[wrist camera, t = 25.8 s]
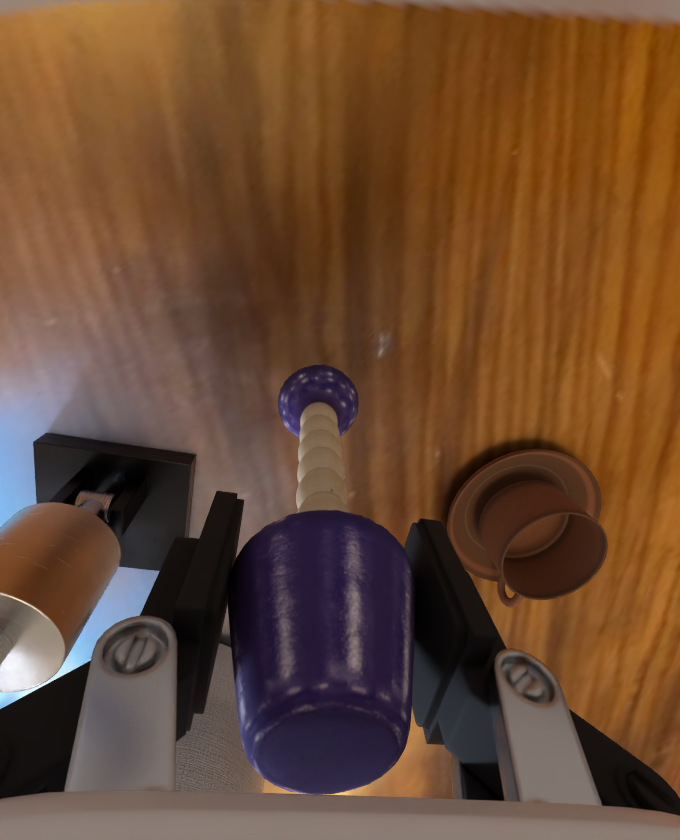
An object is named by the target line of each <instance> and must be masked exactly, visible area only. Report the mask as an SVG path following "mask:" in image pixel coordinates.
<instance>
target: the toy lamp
mask: <svg viewBox="0 0 680 840" xmlns="http://www.w3.org/2000/svg"><path fill="white" fill-rule="evenodd" d="M278 408H279V413H280V416H281V419H282V421H283V423H284V424H285V426H286V427H287V428H288V430H289V431H290V432H291V433H293V434H294V435H295V436H296V437H298V438H299V439H300V445H299V449H298V458H299V462H300V463H299V466H298V472H297V477H298V482H299V486H298V489H297V493H296V502H297V507H298V511H297V513H296V514H291V515H288V516H286V517H285V518H283V519H281V520H278V521H276V522H273V523H271V524H269V525H267V526H265V527H264V528H263V529H262V530H261V531H260V532H258V533H257V534H255V535H254V536H253V537H252V538H251V539H250V540H249V541H248V542H247V543H246V544H245V546H244V547H243V548H242V550H241V551H240V553H239V555H238V556H237V558H236V560H235V562H234V564H233V567H232V570H231V574H230V580H229V585H228V614H229V625H230V638H231V650H232V662H233V672H234V683H235V693H236V703H237V712H238V721H239V730H240V736H241V741H242V744H243V748H244V751H245V754H246V757H247V759H248V761H249V763H250V764H251V765H252V766H253V768H254V769H255V770H256V771H257V772H258V773H259V774H260V775H261V776H262V777H263V778H265V779H266V780H268V781H269V782H271V783H272V784H274V785H276V786H278V787H281V788H283V789H286V790H288V791H291V792H298V793H306V794H314V795H319V794H335V793H340V792H345V791H349V790H353V789H356V788H359V787H362V786H365V785H368V784H370V783H371V782H373V781H375V780H377V779H378V778H380V777H382V776H383V775H384V774H385V773H386V772H388V771H389V770H390V769H391V768H392V767H393V766H394V765H395V764H396V762H397V761H398V760H399V758H400V756H401V755H402V753H403V751H404V749H405V746H406V743H407V739H408V735H409V731H410V722H411V710H412V686H413V663H414V628H415V580H414V574H413V569H412V566H411V563H410V560H409V558H408V555H407V554H406V552H405V550H404V548H403V547H402V545H401V544H400V543H399V542H398V541H397V540H396V538H395V537H394V536H393V535H392V534H391V533H390V532H389V531H388V530H387V529H385V528H384V527H382V526H381V525H379V524H376V523H375V522H374V521H372V520H370V519H368V518H365V517H363V516H361V515H355V514H352V513H350V511H349V509H348V507H347V503H348V491H347V487H346V484H345V482H344V480H345V467H344V464H343V461H342V448H341V444H340V442H339V437H340V436H342V435H343V434H344V433H345V432H346V431H347V430H348V429H349V428H350V426H351V425H352V423H353V422H354V420H355V417H356V415H357V411H358V393H357V391H356V388H355V386H354V384H353V383H352V382H351V380H350V379H349V378H348V377H347V376H346V375H345V374H344V373H343V372H341V371H339V370H337V369H335V368H333V367H330V366H326V365H313V366H309V367H305V368H302V369H300V370H298V371H296V372H295V373H293V374H292V375H291V376H289V377H288V379H287V380H286V381H285V382H284V384H283V386H282V388H281V390H280V393H279V398H278Z"/></svg>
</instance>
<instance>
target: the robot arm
mask: <svg viewBox="0 0 680 840" xmlns="http://www.w3.org/2000/svg"><path fill="white" fill-rule="evenodd" d="M243 506H244V500H241V499H237V493H230V492H222V491H217V492H216V494H215V497H214V500H213V502H212V505H211V508H210V511H209V513H208V516H207V519H206V522H205V525H204V527H203V530H202V533H201V536H200V538H199V539H196V538H188V537H179V536H177V537H175V539H174V541H173V543H172V545H171V547H170V550H169V552H168V554H167V556H166V559H165V561H164V563H163V565H162V567H161V570H160V572H159V574H158V576H157V579H156V581H155V583H154V585H153V588H152V590H151V592H150V594H149V596H148V599H147V601H146V603H145V605H144V608H143V610H142V612H141V614H140V616H136V617H131V618H127V619H125V620H123V621H120V622H118V623H116V624H114V625H113V626H112V627H110V628H109V629H108V630H106V631H105V632H104V633H103V635H102V636H101V637H100V638H99V639H98V641H97V643H96V645H95V648H94V650H93V654H92V659H91V661H89V662H87V663H85V664H84V665H82V666H80V667H78V668H76V669H74V670H72V671H71V672H69V673H67V674H65V675H63V676H61V677H59V678H58V679H56V680H54V681H52V682H50V683H48V684H46V685H45V686H43V687H41V688H39V689H37V690H35V691H33V692H32V693H30V694H28V695H26V696H24V697H22V698H20V699H19V700H17V701H15V702H13V703H11V704H9V705H7V706H6V707H4V708H2V709H0V840H680V798H679V797H678V795H677V794H676V792H675V791H674V790H673V789H672V788H671V787H670V786H669V784H668V783H667V782H666V781H665V780H664V779H663V778H662V777H660V776H659V775H658V774H657V773H656V772H655V771H653V770H652V769H651V768H650V767H648V766H647V765H645V764H644V763H643V762H641V761H640V760H639V759H637V758H636V757H634V756H633V755H632V754H630V753H629V752H628V751H626V750H625V749H623V748H622V747H621V746H619V745H618V744H617V743H615V742H614V741H612V740H611V739H610V738H608V737H607V736H606V735H604V734H603V733H601V732H600V731H599V730H597V729H596V728H595V727H593V726H592V725H590V724H589V723H588V722H586V721H585V720H584V719H582V718H581V717H579V716H578V715H577V714H575V713H574V712H573V711H571V710H570V709H569V708H568V706H567V703H566V700H565V697H564V694H563V691H562V688H561V686H560V684H559V682H558V680H557V678H556V677H555V676H554V674H553V673H552V672H551V670H550V669H549V668H548V667H547V666H546V665H544V664H543V663H542V662H541V661H540V660H538V659H537V658H535V657H534V656H532V655H531V654H528V653H526V652H524V651H521V650H517V649H506V647H505V645H504V643H503V641H502V639H501V637H500V635H499V633H498V631H497V629H496V627H495V625H494V623H493V621H492V619H491V617H490V615H489V613H488V611H487V609H486V607H485V605H484V603H483V601H482V599H481V597H480V595H479V593H478V591H477V589H476V587H475V585H474V583H473V581H472V579H471V577H470V575H469V574H468V572H466V571H465V569H464V567H463V565H462V563H461V561H460V559H459V557H458V555H457V553H456V551H455V549H454V547H453V545H452V543H451V541H450V539H449V537H448V535H447V533H446V531H445V529H444V527H443V525H442V523H441V522H440V521H436V520H429V519H420V520H419V521H418V523H413V524H412V525H411V528H410V531H409V534H408V537H407V540H406V544H405V547H404V550H405V552H406V554H407V555H408V558H409V560H410V563H411V566H412V569H413V574H414V580H415V628H414V663H413V686H412V709H413V713H414V717H415V721H416V724H417V726H419V727H423V730H424V734H425V738H426V742H427V744H441V745H445V748H446V749H447V750H448V751H450V752H451V773H452V788H453V799H436V798H406V797H376V796H345V795H313V794H276V793H238V792H201V791H176V742H177V741H178V740H179V739H181V738H182V737H183V736H184V735H186V732H187V731H190V729H191V724H192V720H193V716H194V714H204V710H205V706H206V701H207V697H208V692H209V687H210V683H211V678H212V674H213V669H214V664H215V660H216V655H217V650H218V646H219V641H220V637H221V632H222V627H223V623H224V618H225V613H226V609H227V604H228V585H229V580H230V574H231V570H232V567H233V564H234V562H235V560H236V553H237V546H238V540H239V533H240V526H241V519H242V513H243Z"/></svg>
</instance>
